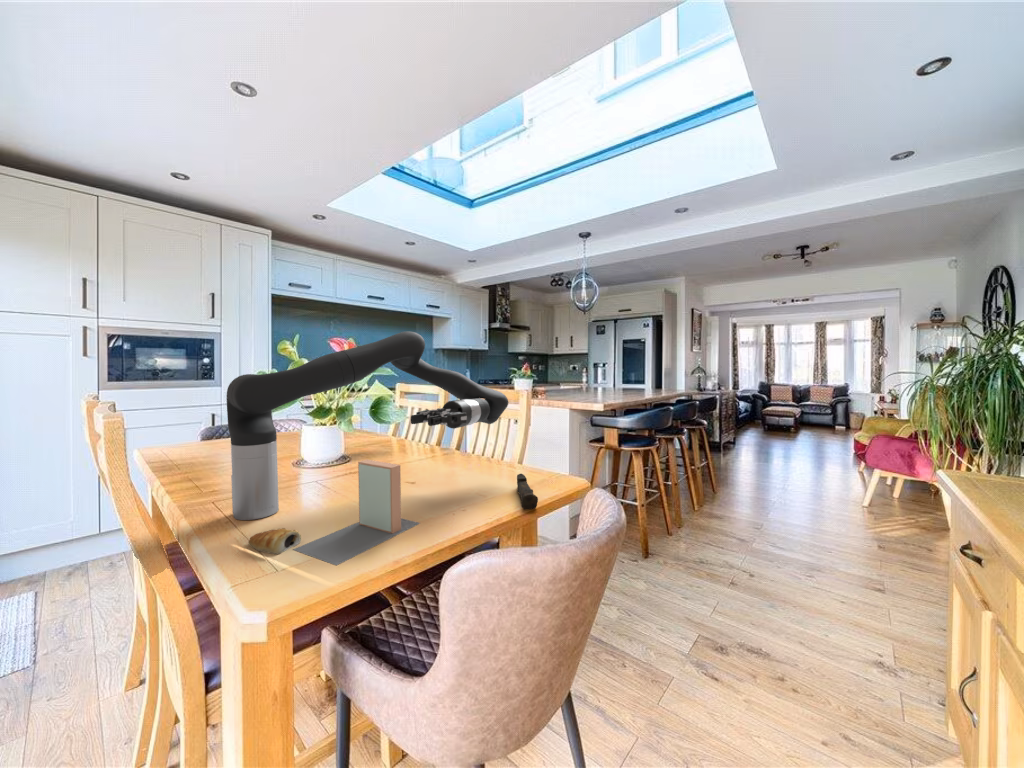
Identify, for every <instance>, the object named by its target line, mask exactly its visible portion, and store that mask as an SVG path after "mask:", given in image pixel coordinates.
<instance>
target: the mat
mask: <svg viewBox="0 0 1024 768" xmlns="http://www.w3.org/2000/svg"><path fill="white" fill-rule="evenodd" d="M420 524H421V522H418V521H415V520H414V521H413V520H409V519H408V518H407V519H405V518H403V517H401V530H399V531H397V532H395V533H393V534H392V533H388V532H385V531H381V530H378V529H374V528H370V527H367V526H363V525H360V524H359V521H357V522H355V523H353V524H351V525H347V526H346V527H343V528H341V529H338V530H336V531H334V532H331V533H329V534H326V535H324V536H321V537H319V538H317V539H314V540H312V541H310V542H307V543H305V544H303V545H300V546H298V547H295V548H293V549H292V551H295V552H298V553H300V554H304V555H305V556H309V557H311V558H315V559H317V560H320V561H323V562H325V563H327V564H328V563H329V564H330V565H334V566H338V565H341V564H343V563H345V562H346V561H348V560H351V559H352V558H354V557H356V556H358V555H361V554H362V553H365V552H366V551H368V550H371V549H372V548H374V547H376V546H378V545H380V544H382V543H384V542H386V541H388V540H390V539H392V538H394V537H396V536H398V535H400V534H402V533H404V532H406V531H408V530H410V529H412V528H414V527H416V526H418V525H420Z"/></svg>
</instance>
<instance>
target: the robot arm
mask: <svg viewBox="0 0 1024 768" xmlns="http://www.w3.org/2000/svg"><path fill="white" fill-rule="evenodd" d="M425 342H426V341H425V339H424V337H423V336H422V335H420V333H418V332H414V331H401V332H398V333H395V334H393V335H390V336H387V337H385V338H382V339H380V340H377V341H374V342H369V343H366V344H362V345H359V346H356V347H351V348H348V349H343V350H339V351H335V352H332V353H328V354H325V355H322V356H319V357H316V358H314V359H312V360H309V361H308V362H305V363H304V364H301V365H299V366H297V367H293V368H290V369H285V370H281V371H277V372H270V373H263V374H254V373H253V374H252V373H250V374H249V373H247V374H241V375H239V376H237V377H236V378H234V379H233V380H231V382H230V383H229V385H228V386H227V389H226V415H227V427H228V432H229V436H230V452H231V453H230V454H231V455H230V456H231V457H230V458H231V476H230V477H231V500H232V501H231V503H232V504H231V505H232V515H233V518H234V519H235V520H239V521H251V520H257V519H258V520H259V519H263V518H266V517H269V516H272V515H274V514H276V513H278V511H279V479H278V478H279V477H278V474H279V473H278V472H279V471H278V442H277V439H278V438H277V436H278V435H277V429H276V427H275V424H274V421H273V412H272V411H273V410H275V409H277V408H280V407H282V406H284V405H286V404H288V403H291V402H293V401H296V400H299V399H301V398H305V397H308V396H311V395H316V394H321V393H324V392H327V391H332V390H335V389H340V388H342V387H345V386H349V385H353V384H354V383H358V382H359V381H361V380H363V379H364V378H366V377H368V376H369V375H371V374H372V373H374V372H375V371H377V370H378V369H379V368H382V367H383V366H384V365H386V364H389V363H391V365H392V366H394V367H395V368H397V369H398V370H400V371H401V372H405V373H406V374H409V375H411V376H414V377H416V378H418V379H420V380H423V381H424V382H427V383H430V384H431V385H434V386H436V387H438V388H439V389H441V390H444V391H446V392H447V393H449V394H451V396H453V397H455V398H457V399H456V400H454V399H453V400H450V401H447V402H446V403H445V404H444V405H443V406H442V407H439V408H436V409H424V410H420V411H417V412H416V414H412V415H410V424H411V425H418V424H425V423H427V425H428V426H429V427H434V426H438V425H440V426H446V427H447V428H450V429H453V430H454V429H459V428H463V427H468V426H471V425H473V424H475V423H484V424H487V425H492V424H495V423H496V422H497V421H498V420H499V418H500V417H501V416H502V414H503V413H504V412H505V410H506V408H507V407H508V406H509V400H508V397H507V396H506V395H505V393H503V392H501V391H499V390H495V389H493V388H490V387H487V386H484V385H481V384H479V383H477V382H475V381H473V380H471V379H470V378H468V377H467V376H466V375H464V374H462V373H460V372H458V371H455V370H450V369H447V368H440V367H437V366H434V365H431V364H430V363H428V362H426V361H424V359H422V356H423V353H424V352H425V349H426V343H425Z"/></svg>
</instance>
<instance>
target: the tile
mask: <svg viewBox="0 0 1024 768" xmlns="http://www.w3.org/2000/svg"><path fill="white" fill-rule="evenodd" d="M357 466H358V467H357V468H358V474H357V475H358V512H359V513H358V516H359V518H358V519H359V520H358V522H359V524H360V525H363V526H367V527H370V528H374V529H378V530H381V531H385V532H388V533H392V534H393V533H395V532H397V531H399V530H401V518H402V496H401V495H402V493H401V492H402V490H401V489H402V487H401V485H402V484H401V483H402V482H401V480H402V478H401V465H400V464H396V463H390V462H384V461H378V460H373V459H365V460H360V461H358V462H357Z"/></svg>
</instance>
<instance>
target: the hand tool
mask: <svg viewBox="0 0 1024 768" xmlns="http://www.w3.org/2000/svg"><path fill="white" fill-rule="evenodd" d="M516 475H517V476H516V485H517V493H518V492H519V493H518V494H519V497H520V499H521V507H522V509H523V510H534V509H536V508H537V507H538V501H539V497H538V496H537V495H535V493H534V489H531V487H530V485H529V484H528V481H527V477H526V476H525V474H523V473H518V474H516Z"/></svg>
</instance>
